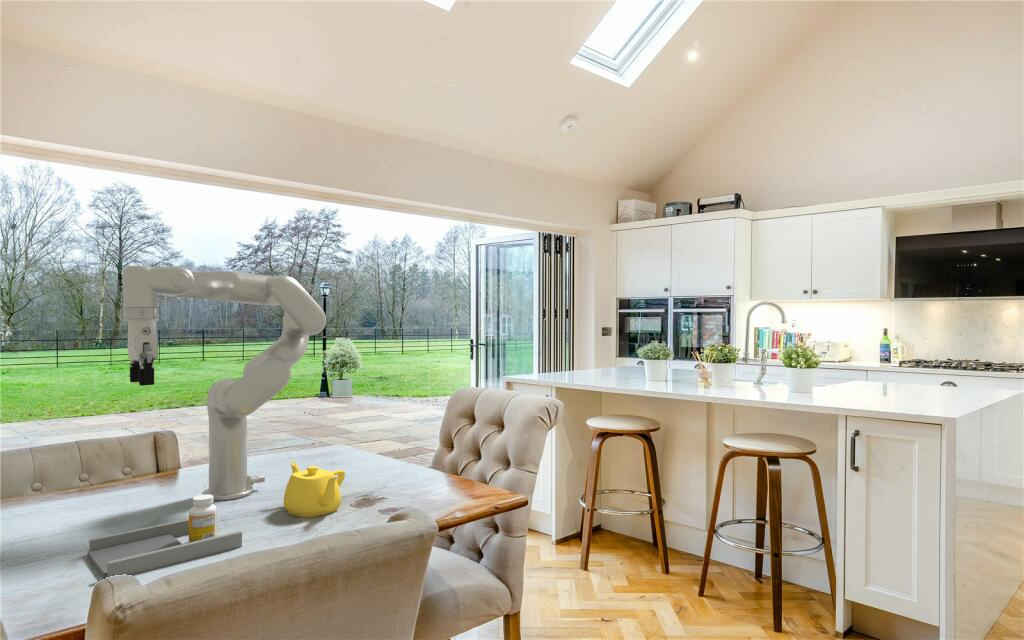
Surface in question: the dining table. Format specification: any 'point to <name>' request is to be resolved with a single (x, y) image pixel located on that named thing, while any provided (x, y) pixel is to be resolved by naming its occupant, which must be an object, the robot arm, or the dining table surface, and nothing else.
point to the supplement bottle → (202, 518)
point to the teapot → (313, 491)
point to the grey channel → (153, 548)
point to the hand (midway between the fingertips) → (141, 383)
